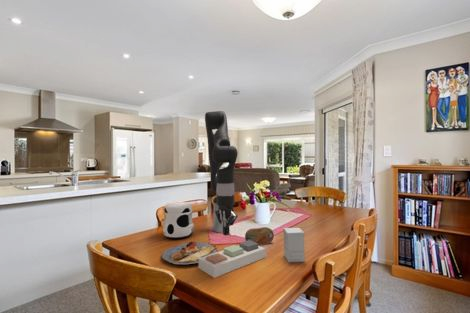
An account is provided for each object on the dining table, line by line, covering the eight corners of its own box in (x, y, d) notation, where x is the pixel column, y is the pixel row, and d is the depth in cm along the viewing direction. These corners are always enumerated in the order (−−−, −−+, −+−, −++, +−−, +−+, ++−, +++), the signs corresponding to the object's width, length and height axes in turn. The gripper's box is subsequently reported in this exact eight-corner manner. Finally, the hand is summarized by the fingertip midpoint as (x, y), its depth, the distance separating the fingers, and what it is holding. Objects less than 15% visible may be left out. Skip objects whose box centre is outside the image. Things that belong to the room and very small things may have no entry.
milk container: (160, 234, 148) (159, 203, 148) (189, 229, 155) (188, 200, 155) (166, 243, 132) (166, 209, 132) (198, 237, 140) (197, 205, 140)
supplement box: (300, 255, 113) (299, 227, 113) (305, 262, 106) (304, 232, 106) (283, 255, 113) (283, 227, 113) (287, 262, 106) (287, 232, 106)
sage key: (223, 255, 107) (223, 248, 107) (234, 251, 111) (234, 244, 111) (232, 259, 102) (232, 252, 102) (243, 255, 106) (243, 248, 106)
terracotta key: (206, 264, 101) (205, 256, 101) (218, 260, 105) (217, 253, 105) (214, 269, 96) (214, 261, 96) (226, 264, 100) (226, 257, 100)
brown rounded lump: (246, 246, 125) (246, 230, 125) (244, 244, 128) (244, 228, 128) (274, 243, 129) (273, 227, 129) (271, 241, 132) (271, 225, 132)
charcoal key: (239, 249, 113) (239, 243, 113) (249, 246, 117) (248, 240, 117) (248, 253, 108) (248, 246, 108) (258, 250, 112) (258, 243, 112)
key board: (198, 268, 102) (198, 258, 102) (248, 250, 120) (248, 242, 120) (214, 277, 93) (214, 267, 93) (265, 257, 111) (265, 248, 111)
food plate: (194, 242, 132) (194, 235, 132) (227, 253, 117) (227, 245, 117) (152, 259, 113) (151, 251, 112) (185, 275, 98) (185, 266, 98)
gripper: (209, 192, 107) (209, 233, 108) (228, 196, 97) (228, 241, 97) (223, 190, 112) (223, 229, 112) (242, 194, 102) (243, 236, 102)
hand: (226, 234), depth 105 cm, fingers closed
